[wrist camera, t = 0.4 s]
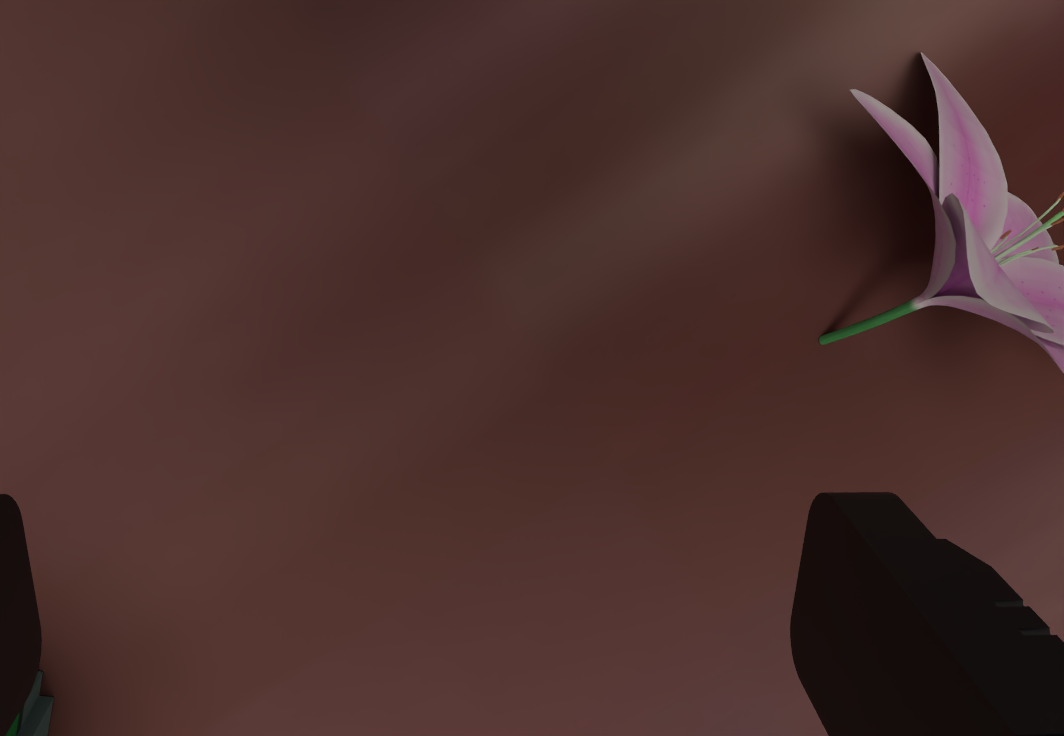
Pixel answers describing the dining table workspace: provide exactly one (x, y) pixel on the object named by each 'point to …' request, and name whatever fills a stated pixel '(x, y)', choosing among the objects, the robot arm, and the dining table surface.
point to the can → (33, 713)
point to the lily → (976, 229)
